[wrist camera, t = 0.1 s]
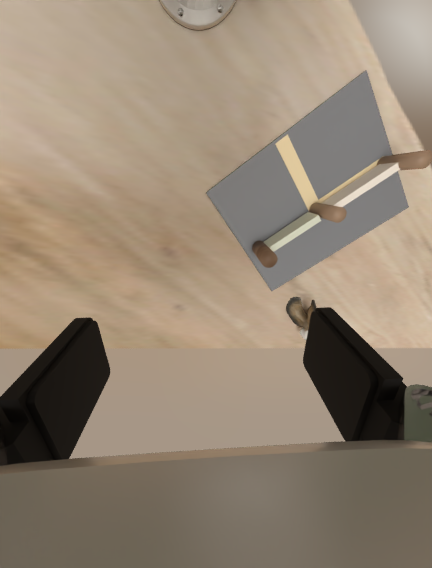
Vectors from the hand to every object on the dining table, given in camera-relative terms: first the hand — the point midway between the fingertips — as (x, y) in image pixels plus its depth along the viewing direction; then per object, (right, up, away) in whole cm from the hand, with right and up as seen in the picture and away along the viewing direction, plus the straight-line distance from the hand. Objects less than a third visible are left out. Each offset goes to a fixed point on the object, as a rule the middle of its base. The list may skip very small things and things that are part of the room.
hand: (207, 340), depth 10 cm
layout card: (+18, +19, +33) cm, 42 cm away
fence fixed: (+25, +21, +32) cm, 46 cm away
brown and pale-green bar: (+13, +12, +35) cm, 39 cm away
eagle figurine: (+21, -4, +44) cm, 49 cm away
